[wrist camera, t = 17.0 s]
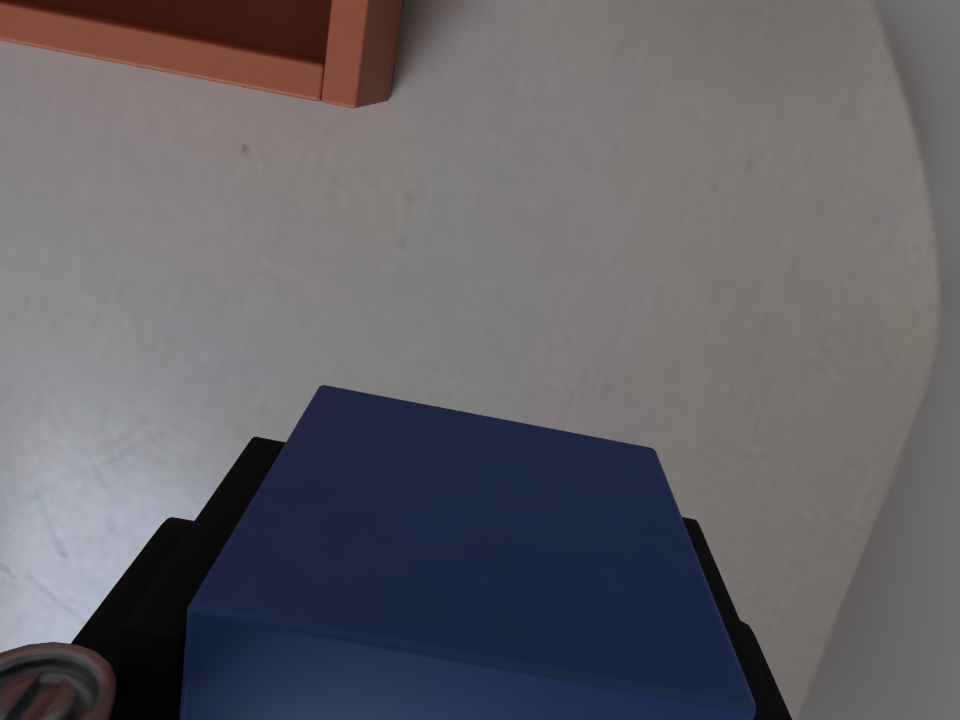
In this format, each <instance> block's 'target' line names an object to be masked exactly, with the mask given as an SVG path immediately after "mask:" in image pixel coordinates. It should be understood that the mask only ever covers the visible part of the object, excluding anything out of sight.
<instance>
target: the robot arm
mask: <svg viewBox="0 0 960 720" xmlns="http://www.w3.org/2000/svg"><path fill="white" fill-rule="evenodd" d="M285 444H286V442H281V441H275V440H270V439H265V438H259V437H253V438H252V439H251V440H250V442H249V443H248V445H247V446H246V448H245V449H244V451H243V452H242V453H241V455H240V456H239V458H238V459H237V461H236V462H235V464H234V465H233V466H232V468H231V469H230V471H229V472H228V474H227V475H226V476H225V478H224V479H223V481H222V482H221V484H220V485H219V487H218V488H217V489H216V491H215V492H214V494H213V495H212V497H211V498H210V500H209V501H208V502H207V504H206V505H205V507H204V508H203V510H202V511H201V513H200V514H199V515H198V517H197V518H196V520H195V521H191V520H185V519H180V518H174V517H171V518H168V519H167V520H166V521H165V522H164V523H163V524H162V525H161V526H160V527H159V529H158V530H157V531H156V532H155V534H154V535H153V536H152V538H151V539H150V540H149V542H148V543H147V544H146V546H145V547H144V548H143V550H142V551H141V552H140V553H139V555H138V556H137V557H136V559H135V560H134V561H133V563H132V564H131V565H130V567H129V568H128V569H127V571H126V572H125V573H124V574H123V576H122V577H121V578H120V580H119V581H118V582H117V584H116V585H115V586H114V588H113V589H112V590H111V592H110V593H109V594H108V595H107V597H106V598H105V599H104V601H103V602H102V603H101V605H100V606H99V607H98V609H97V610H96V611H95V613H94V614H93V615H92V616H91V618H90V619H89V620H88V622H87V623H86V624H85V626H84V627H83V628H82V630H81V631H80V632H79V634H78V635H77V636H76V637H75V639H74V640H73V641H72V643H71V644H67V643H57V642H50V643H40V644H30V645H26V646H22V647H19V648H15V649H12V650H8V651H5V652H2V653H0V720H179V719H180V706H181V693H182V679H183V666H184V652H185V639H186V626H187V612H188V606H189V605H190V603H191V601H192V600H193V598H194V596H195V595H196V593H197V591H198V590H199V588H200V586H201V585H202V583H203V581H204V580H205V578H206V576H207V575H208V573H209V571H210V570H211V568H212V566H213V564H214V563H215V561H216V559H217V558H218V556H219V554H220V553H221V551H222V549H223V548H224V546H225V544H226V543H227V541H228V539H229V538H230V536H231V534H232V533H233V531H234V529H235V528H236V526H237V524H238V523H239V521H240V519H241V517H242V516H243V514H244V512H245V511H246V509H247V507H248V506H249V504H250V502H251V501H252V499H253V497H254V496H255V494H256V492H257V491H258V489H259V487H260V486H261V484H262V482H263V481H264V479H265V477H266V476H267V474H268V472H269V470H270V469H271V467H272V465H273V464H274V462H275V460H276V459H277V457H278V455H279V454H280V452H281V450H282V449H283V447H284V445H285ZM682 519H683V522H684V524H685V527H686V529H687V532H688V534H689V537H690V539H691V542H692V545H693V547H694V550H695V552H696V555H697V557H698V560H699V562H700V565H701V567H702V570H703V572H704V575H705V577H706V580H707V582H708V585H709V587H710V590H711V593H712V595H713V598H714V600H715V603H716V605H717V608H718V610H719V613H720V615H721V618H722V620H723V623H724V625H725V628H726V630H727V633H728V635H729V638H730V641H731V643H732V646H733V648H734V651H735V653H736V656H737V658H738V661H739V663H740V666H741V668H742V671H743V673H744V676H745V678H746V681H747V683H748V686H749V689H750V691H751V694H752V696H753V699H754V701H755V704H756V714H755V717H754V719H753V720H792V718H791V716H790V714H789V712H788V709H787V707H786V705H785V703H784V700H783V698H782V696H781V694H780V691H779V689H778V687H777V685H776V682H775V680H774V678H773V676H772V673H771V671H770V669H769V666H768V664H767V662H766V660H765V657H764V655H763V653H762V651H761V648H760V646H759V644H758V642H757V639H756V637H755V635H754V633H753V631H752V630H751V628H750V626H749V625H747V624H746V623H744V622H741V621H740V619H739V617H738V615H737V612H736V610H735V608H734V605H733V603H732V601H731V598H730V596H729V594H728V591H727V589H726V587H725V584H724V582H723V580H722V577H721V575H720V573H719V570H718V568H717V566H716V563H715V561H714V559H713V556H712V554H711V552H710V549H709V547H708V544H707V542H706V540H705V537H704V535H703V533H702V530H701V528H700V526H699V524H698V522H697V521H696V520H694V519H690V518H684V517H682Z"/></svg>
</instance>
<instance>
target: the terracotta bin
mask: <svg viewBox="0 0 960 720" xmlns="http://www.w3.org/2000/svg"><path fill="white" fill-rule="evenodd" d="M402 1H403V0H0V40H1V41H7V42H12V43H17V44H22V45H27V46H33V47H38V48H43V49H48V50H53V51H58V52H64V53H69V54H74V55H79V56H84V57H90V58H95V59H100V60H105V61H110V62H116V63H121V64H126V65H131V66H136V67H142V68H147V69H152V70H157V71H162V72H168V73H173V74H178V75H183V76H188V77H194V78H199V79H204V80H209V81H214V82H219V83H225V84H230V85H235V86H240V87H245V88H251V89H256V90H261V91H266V92H271V93H277V94H282V95H287V96H292V97H297V98H303V99H308V100H313V101H322V102H324V103H328V104H333V105H339V106H344V107H349V108H357V107H362V106H366V105H371V104H375V103H379V102H384V101H388V100H389V97H390V90H391V82H392V75H393V68H394V60H395V53H396V45H397V38H398V31H399V23H400V16H401V8H402Z"/></svg>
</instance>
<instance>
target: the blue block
mask: <svg viewBox="0 0 960 720" xmlns="http://www.w3.org/2000/svg"><path fill="white" fill-rule="evenodd" d="M755 714H756V704H755V701H754V699H753V696H752V694H751V691H750V689H749V686H748V683H747V681H746V678H745V676H744V673H743V671H742V668H741V666H740V663H739V661H738V658H737V656H736V653H735V651H734V648H733V646H732V643H731V641H730V638H729V635H728V633H727V630H726V628H725V625H724V623H723V620H722V618H721V615H720V613H719V610H718V608H717V605H716V603H715V600H714V598H713V595H712V593H711V590H710V587H709V585H708V582H707V580H706V577H705V575H704V572H703V570H702V567H701V565H700V562H699V560H698V557H697V555H696V552H695V550H694V547H693V545H692V542H691V539H690V537H689V534H688V532H687V529H686V527H685V524H684V522H683V519H682V517H681V514H680V512H679V509H678V507H677V504H676V502H675V499H674V497H673V494H672V491H671V489H670V486H669V484H668V481H667V479H666V476H665V474H664V471H663V469H662V466H661V464H660V461H659V459H658V456H657V454H656V451H655V450H654V449H652V448H649V447H644V446H639V445H634V444H628V443H623V442H618V441H613V440H607V439H602V438H597V437H592V436H587V435H581V434H576V433H571V432H566V431H560V430H555V429H550V428H545V427H540V426H534V425H529V424H524V423H519V422H514V421H508V420H503V419H498V418H493V417H487V416H482V415H477V414H472V413H467V412H461V411H456V410H451V409H446V408H441V407H435V406H430V405H425V404H420V403H414V402H409V401H404V400H399V399H394V398H388V397H383V396H378V395H373V394H368V393H362V392H357V391H352V390H347V389H341V388H336V387H331V386H326V385H323V386H320V387H319V388H318V390H317V392H316V393H315V395H314V397H313V398H312V400H311V402H310V403H309V405H308V407H307V408H306V410H305V412H304V413H303V415H302V417H301V418H300V420H299V422H298V423H297V425H296V427H295V429H294V430H293V432H292V434H291V435H290V437H289V439H288V440H287V442H286V444H285V445H284V447H283V449H282V450H281V452H280V454H279V455H278V457H277V459H276V460H275V462H274V464H273V465H272V467H271V469H270V470H269V472H268V474H267V476H266V477H265V479H264V481H263V482H262V484H261V486H260V487H259V489H258V491H257V492H256V494H255V496H254V497H253V499H252V501H251V502H250V504H249V506H248V507H247V509H246V511H245V512H244V514H243V516H242V517H241V519H240V521H239V523H238V524H237V526H236V528H235V529H234V531H233V533H232V534H231V536H230V538H229V539H228V541H227V543H226V544H225V546H224V548H223V549H222V551H221V553H220V554H219V556H218V558H217V559H216V561H215V563H214V564H213V566H212V568H211V570H210V571H209V573H208V575H207V576H206V578H205V580H204V581H203V583H202V585H201V586H200V588H199V590H198V591H197V593H196V595H195V596H194V598H193V600H192V601H191V603H190V605H189V606H188V612H187V626H186V639H185V652H184V666H183V679H182V693H181V706H180V719H179V720H753V719H754V717H755Z"/></svg>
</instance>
